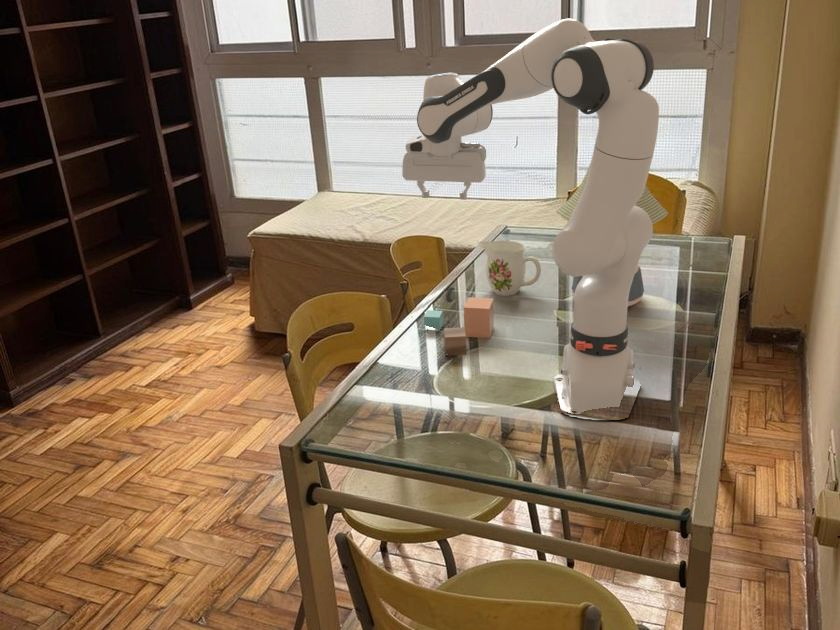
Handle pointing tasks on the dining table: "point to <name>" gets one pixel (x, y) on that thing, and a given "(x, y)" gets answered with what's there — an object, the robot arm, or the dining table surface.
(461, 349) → the walnut block
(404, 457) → the dining table surface
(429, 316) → the cube
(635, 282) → the desk lamp
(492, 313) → the salmon pink cube
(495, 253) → the pitcher
